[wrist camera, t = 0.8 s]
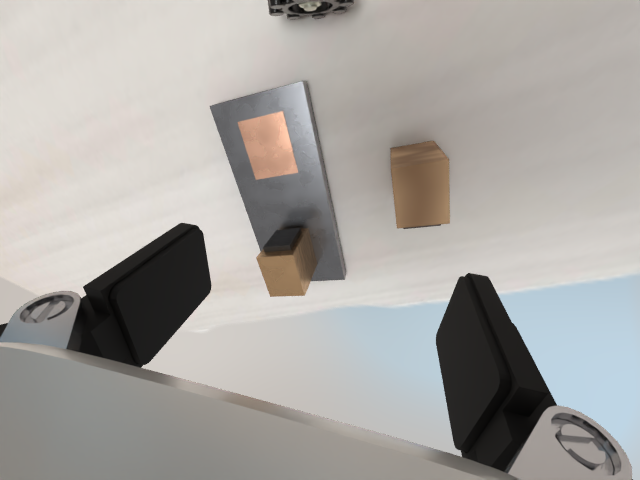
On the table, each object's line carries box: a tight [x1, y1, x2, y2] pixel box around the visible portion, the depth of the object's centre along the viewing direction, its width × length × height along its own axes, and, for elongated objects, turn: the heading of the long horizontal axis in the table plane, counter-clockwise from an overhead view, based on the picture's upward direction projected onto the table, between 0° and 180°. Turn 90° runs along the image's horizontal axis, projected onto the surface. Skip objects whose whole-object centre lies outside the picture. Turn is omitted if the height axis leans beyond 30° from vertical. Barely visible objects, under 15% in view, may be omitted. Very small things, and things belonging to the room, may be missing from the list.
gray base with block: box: [210, 81, 346, 297], centre depth 29 cm, size 10×22×8 cm, turn 12°
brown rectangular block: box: [390, 141, 450, 229], centre depth 25 cm, size 4×6×8 cm
